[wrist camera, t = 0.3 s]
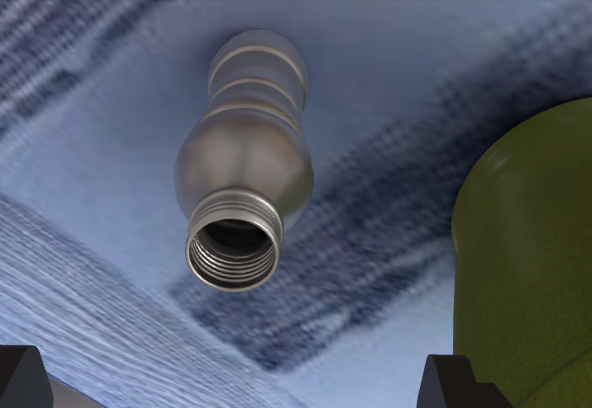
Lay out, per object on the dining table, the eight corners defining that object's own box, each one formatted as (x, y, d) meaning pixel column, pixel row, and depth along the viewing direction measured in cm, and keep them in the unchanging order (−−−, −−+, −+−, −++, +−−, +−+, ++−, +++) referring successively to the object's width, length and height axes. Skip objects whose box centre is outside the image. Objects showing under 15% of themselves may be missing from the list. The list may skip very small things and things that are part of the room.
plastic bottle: (203, 102, 39) (134, 302, 22) (224, 6, 36) (159, 158, 19) (293, 126, 40) (290, 334, 23) (321, 34, 37) (342, 203, 20)
